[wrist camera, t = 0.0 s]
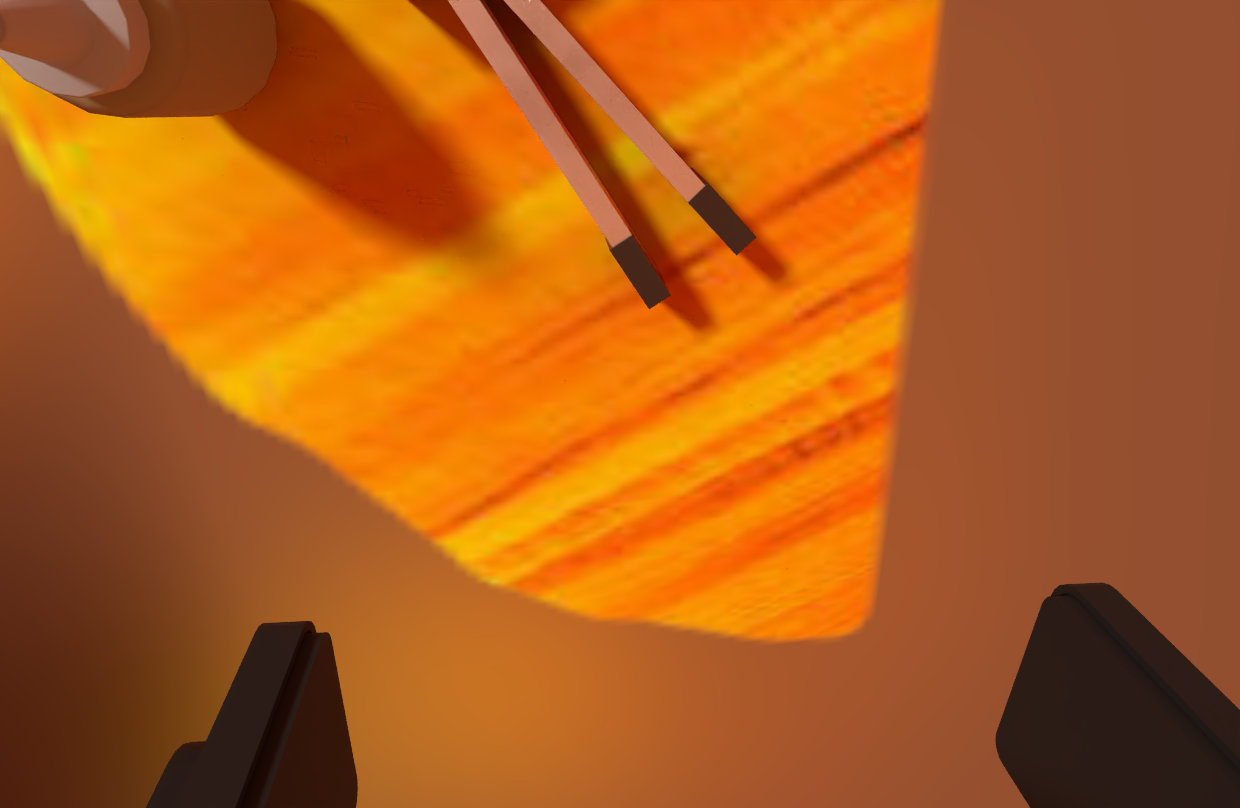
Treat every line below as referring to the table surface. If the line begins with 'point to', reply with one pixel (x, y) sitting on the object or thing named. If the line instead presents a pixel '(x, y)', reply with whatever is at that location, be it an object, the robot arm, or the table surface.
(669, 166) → the tong arm
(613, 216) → the tong base
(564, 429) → the table surface
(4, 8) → the squeeze bottle
